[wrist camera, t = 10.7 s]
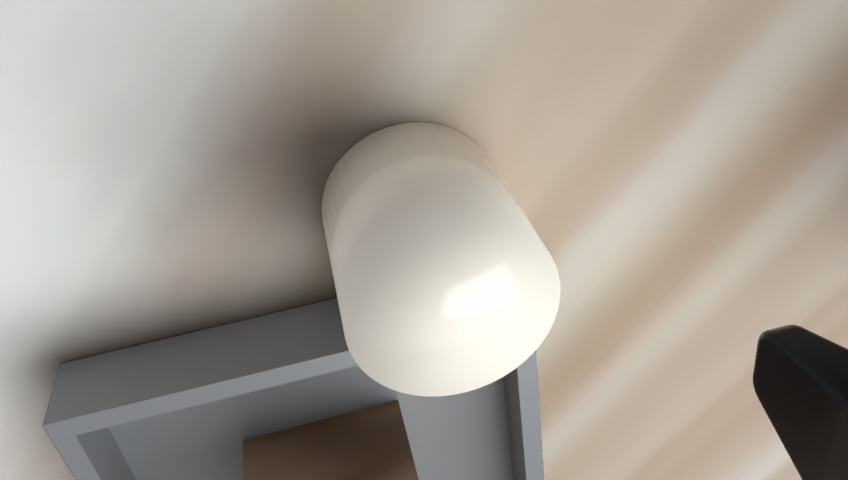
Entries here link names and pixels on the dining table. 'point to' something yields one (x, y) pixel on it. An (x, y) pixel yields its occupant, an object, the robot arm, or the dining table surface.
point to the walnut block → (335, 449)
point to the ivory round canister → (434, 262)
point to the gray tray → (271, 404)
